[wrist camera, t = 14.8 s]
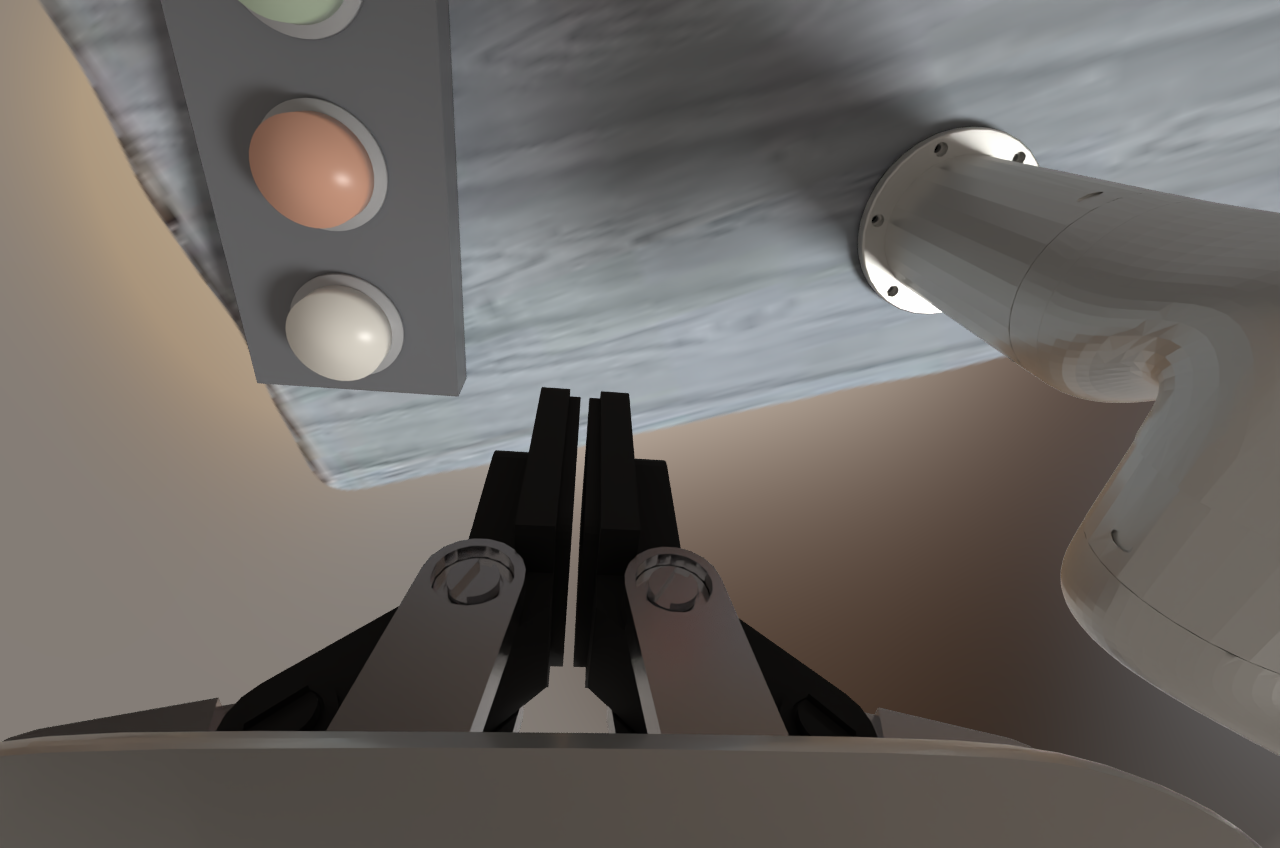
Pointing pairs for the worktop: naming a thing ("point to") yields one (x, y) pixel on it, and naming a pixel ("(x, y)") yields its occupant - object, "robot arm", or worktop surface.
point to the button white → (339, 333)
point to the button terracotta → (311, 168)
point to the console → (402, 164)
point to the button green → (294, 10)
